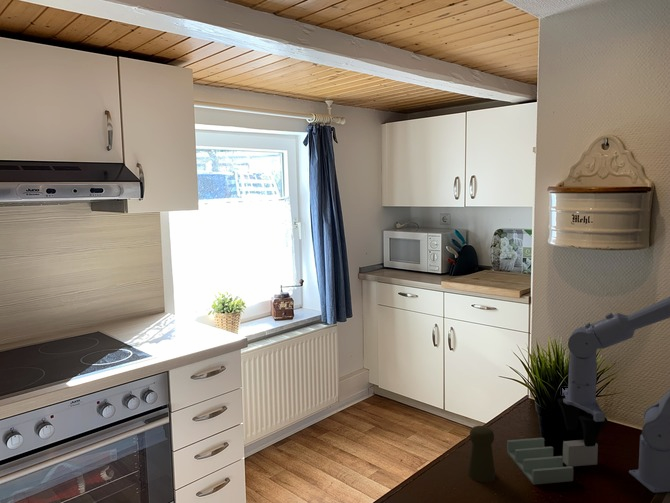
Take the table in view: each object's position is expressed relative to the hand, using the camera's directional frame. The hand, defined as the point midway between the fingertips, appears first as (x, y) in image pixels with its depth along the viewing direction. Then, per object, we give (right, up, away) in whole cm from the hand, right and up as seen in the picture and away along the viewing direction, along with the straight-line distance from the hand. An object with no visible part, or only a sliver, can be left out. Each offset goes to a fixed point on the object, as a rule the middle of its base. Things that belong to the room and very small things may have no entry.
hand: (580, 437), depth 119 cm
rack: (-10, -7, 0) cm, 12 cm away
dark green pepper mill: (-23, -8, -3) cm, 25 cm away
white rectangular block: (0, -6, +1) cm, 6 cm away
